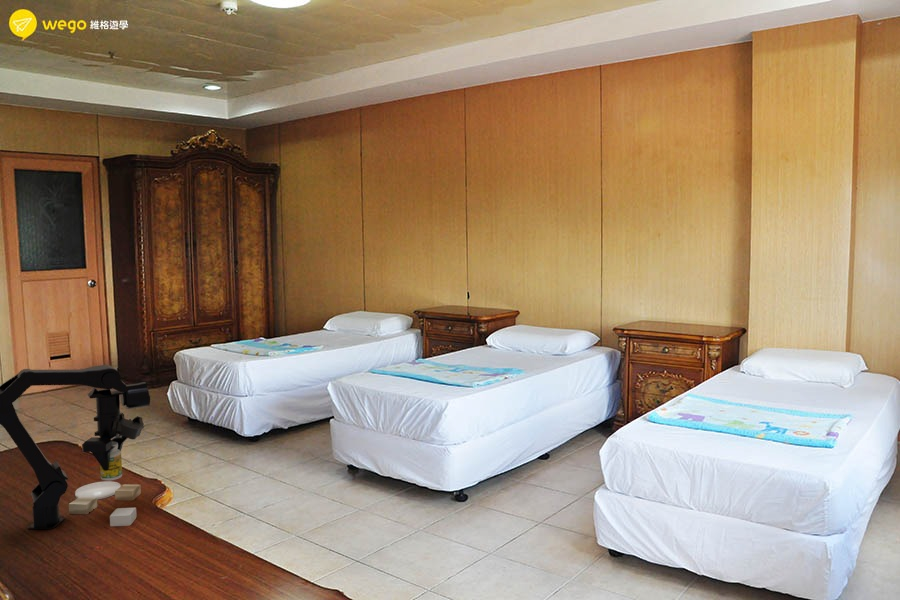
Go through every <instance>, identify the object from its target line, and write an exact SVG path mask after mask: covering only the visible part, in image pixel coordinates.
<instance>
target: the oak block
mask: <svg viewBox="0 0 900 600" xmlns="http://www.w3.org/2000/svg"><path fill="white" fill-rule="evenodd" d="M141 485H142V484H121V487H120V488H118V489H117V490H116V491H115V495H114V499H115V501H134V500H135V499H136V498H138V497H139V496H140V495H141V494H142V491H141V487H142V486H141Z"/></svg>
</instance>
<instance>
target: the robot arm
mask: <svg viewBox="0 0 900 600" xmlns="http://www.w3.org/2000/svg"><path fill="white" fill-rule="evenodd" d="M78 385H79V386H86V387H91V388H92V390H91V391H89V392H88V393H87V394H86V395H87V397H88V398H89V399H95V403H96V406H95V408H96V416H94V417H93V422H96V426H97V427H96V430H95V431H94V436H93V437H92V436H91V437H89V438H88V439H87V440H85V441H84V442H83V443H82V444H81V450H82V453H91V454H92V455H93V457H94V458H95V459H96V461H97V463H98V465H99V466H100V465H101V467H102V468H103V470H104V471H108V469H109V461H110V452H111V451H112V450H113V449H114V448H115V446H112V442H117V443H118V448H117V449H119V450H120V451H121V452H122V449H123V445H124V443H125V442H126V441H127V440H128V439H129V440H136V439H137V438H138V437H140V436H141V434H142V433H141V432H142V430H143V429H144V428H145V426H144V422H143V417H141V416H140V415H139V416H135V417H133V419H132V418H129V419H127V418H125V414H124V412H121V406H122V407H124V406H125V408H126V409H127V410H129V409H136V408H143V407H144V408H145V407H149V406H150V405H151V395H150V393H149V388H148V383H147V382H145V381H143V382H138V383H130V384H126V383H125V382H124V381H123V380H121V373H120V372H119V371H118V370H117V369H115V367H113V366H112V365H109V364H100V365H95V366H90V367H86V368H80V369H30V368H24V369H21V370H20V371H19V372H18V373H17V374H15V375H14V376H12V377H11V378H10V379H8V380H5V382H3V383H2V384H1V385H0V426H2V427H3V428H4V429H5V431H6V433H7V434H8V435H9V437H10V439H12V441H13V442H14V443H15V445H16V447H17V448H18V450H19V451H20V452H21V454H22V455H23V457H24V459H25V460H26V461H27V463H28V465H30V467H31V468H32V470H33V471H34V474H35V476H36V478H37V481H38V483H37V485H36V486H35V487H34V488H33V489H32V490H30V494H31V498H32V501H33V503H32V518H33V522H32V523H31V524H30V525H29V526H28V527H27V529H28V530H53V529H55V528H56V527H57V526H58V525H60V524H61V523H62V522H63V521H65V520H66V517H65V516H60V504H59V502H60V499H61V497H62V496H63V495H64V494H66V492H67V490H68V487H69V485H68V482H67V480H68V479H69V477H68V475H67V474H66V472H65V470H63V469H62V467H61V466H60V464H59V462H58V460H55V461H54V462H53V463H51V462H50V461H49V460H48V459H47V457H46V456H45V455H44V454H43V452H42V451H41V449H40V448H39V446H38V444H37V443H36V441H35V440H34V439H33V437H32V436H31V434H30V433H29V431H28V429H27V428H26V427H25V425H24V424H23V422H22V421H21V419H20V418H19V415H18V414H17V411H16V408H15V406H14V404H13V403H14V402H16V401H17V400H18V399H20V397H22V395H23V394H24V393H25V392H26V391H27V390H28V389H29V388H30V387H32V386H37V387H38V386H40V387H41V386H78ZM112 389H113V391H111V390H112ZM120 404H121V405H120Z"/></svg>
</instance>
